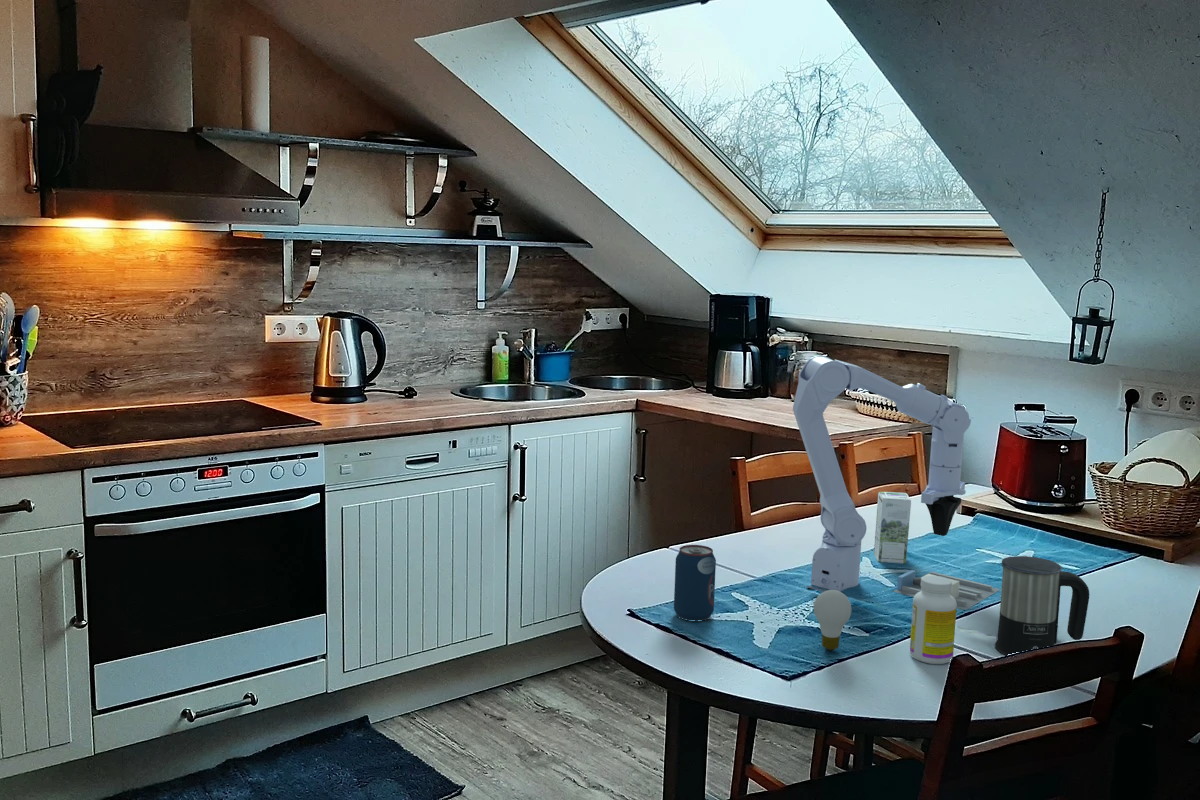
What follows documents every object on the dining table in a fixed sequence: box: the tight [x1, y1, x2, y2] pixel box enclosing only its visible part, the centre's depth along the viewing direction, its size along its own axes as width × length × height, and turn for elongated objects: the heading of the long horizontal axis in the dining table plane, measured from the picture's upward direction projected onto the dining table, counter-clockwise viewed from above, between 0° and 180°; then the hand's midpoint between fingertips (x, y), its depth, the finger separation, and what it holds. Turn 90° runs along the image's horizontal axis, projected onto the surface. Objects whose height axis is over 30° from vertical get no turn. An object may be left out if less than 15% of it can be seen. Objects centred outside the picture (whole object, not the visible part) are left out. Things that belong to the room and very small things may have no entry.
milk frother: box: [994, 555, 1090, 656], centre depth 178 cm, size 14×16×15 cm
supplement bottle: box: [909, 575, 958, 665], centre depth 171 cm, size 7×7×13 cm
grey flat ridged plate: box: [892, 569, 1001, 611], centre depth 202 cm, size 16×14×4 cm
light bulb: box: [813, 589, 852, 652], centre depth 173 cm, size 6×6×10 cm
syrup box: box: [873, 491, 912, 564], centre depth 220 cm, size 6×6×14 cm
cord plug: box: [913, 573, 960, 598], centre depth 200 cm, size 3×8×3 cm, turn 49°
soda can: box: [673, 544, 717, 621], centre depth 187 cm, size 7×7×12 cm
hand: (940, 534), depth 206 cm, fingers closed
